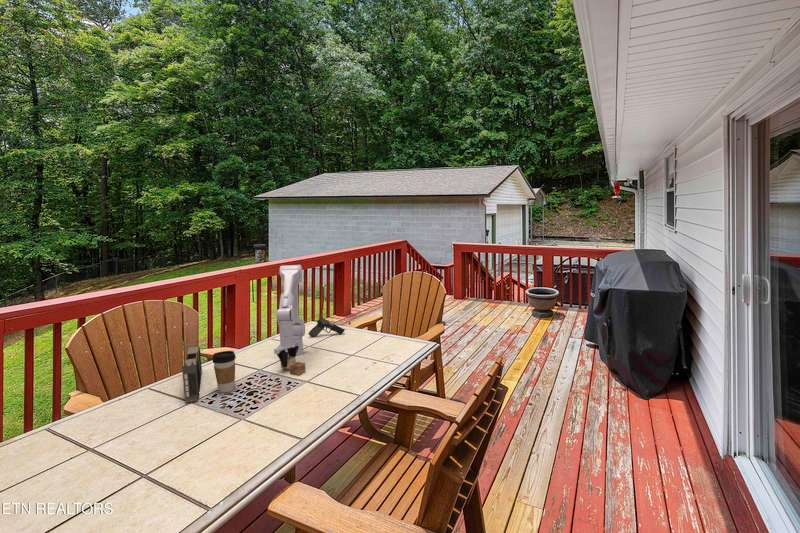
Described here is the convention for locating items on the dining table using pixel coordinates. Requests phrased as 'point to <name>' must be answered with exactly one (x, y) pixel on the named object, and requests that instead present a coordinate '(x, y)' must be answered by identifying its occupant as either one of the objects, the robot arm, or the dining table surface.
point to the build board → (298, 376)
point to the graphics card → (192, 374)
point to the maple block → (289, 362)
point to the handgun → (327, 324)
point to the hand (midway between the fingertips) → (288, 364)
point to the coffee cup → (225, 370)
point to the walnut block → (297, 368)
